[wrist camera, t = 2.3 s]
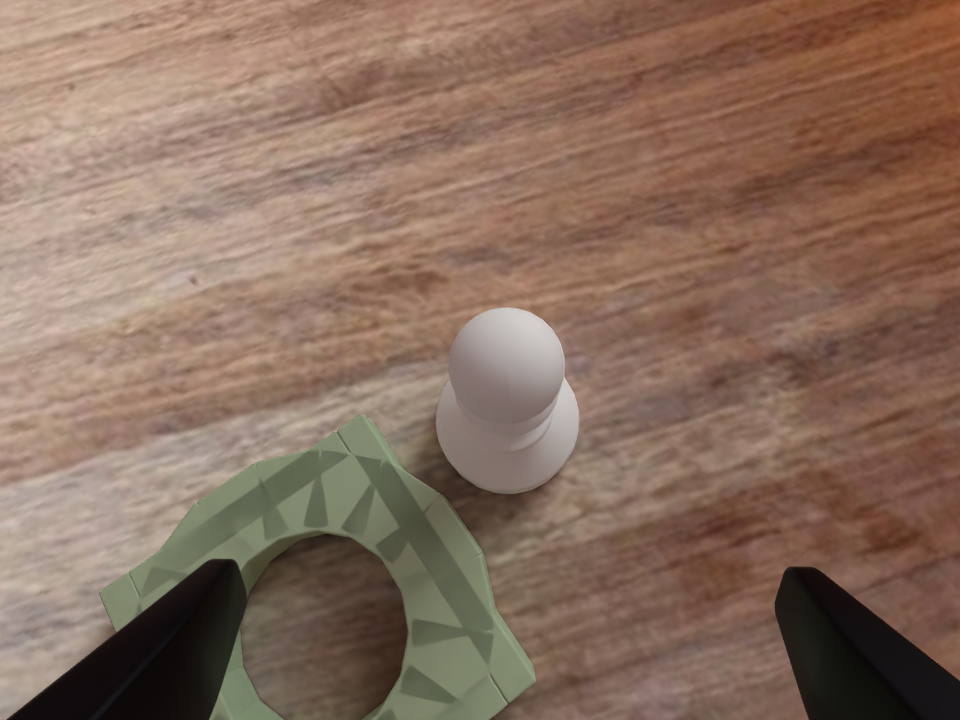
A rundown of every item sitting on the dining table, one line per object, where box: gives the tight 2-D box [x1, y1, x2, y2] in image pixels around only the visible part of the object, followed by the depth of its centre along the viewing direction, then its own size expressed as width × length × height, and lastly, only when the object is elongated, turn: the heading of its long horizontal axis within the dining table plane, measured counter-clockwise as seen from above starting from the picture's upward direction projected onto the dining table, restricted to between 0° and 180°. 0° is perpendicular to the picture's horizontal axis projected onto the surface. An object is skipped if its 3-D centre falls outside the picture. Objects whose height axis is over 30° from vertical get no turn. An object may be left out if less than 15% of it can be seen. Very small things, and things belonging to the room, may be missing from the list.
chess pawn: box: [436, 308, 579, 494], centre depth 17 cm, size 5×5×9 cm
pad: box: [99, 414, 536, 720], centre depth 18 cm, size 11×11×2 cm
